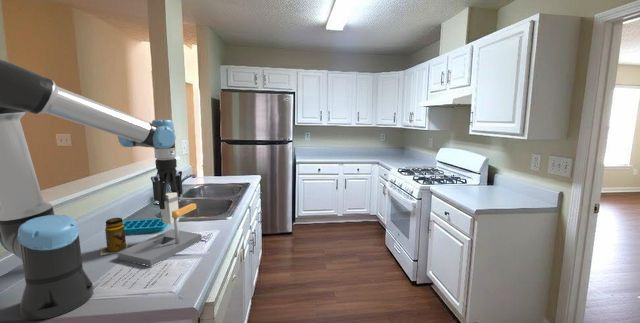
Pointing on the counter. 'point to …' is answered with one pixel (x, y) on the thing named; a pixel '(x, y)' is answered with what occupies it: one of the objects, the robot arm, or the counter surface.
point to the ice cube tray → (144, 226)
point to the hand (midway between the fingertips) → (170, 214)
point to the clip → (178, 213)
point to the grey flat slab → (159, 247)
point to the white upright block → (170, 206)
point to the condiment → (114, 236)
